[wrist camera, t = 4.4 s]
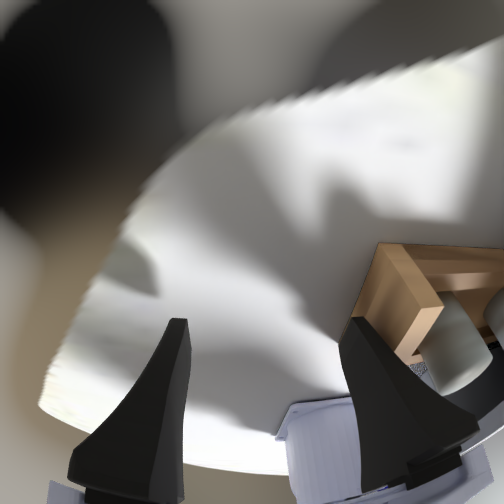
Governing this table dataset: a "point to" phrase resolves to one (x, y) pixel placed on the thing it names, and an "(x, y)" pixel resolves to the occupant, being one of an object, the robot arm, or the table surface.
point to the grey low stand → (481, 398)
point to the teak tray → (437, 307)
